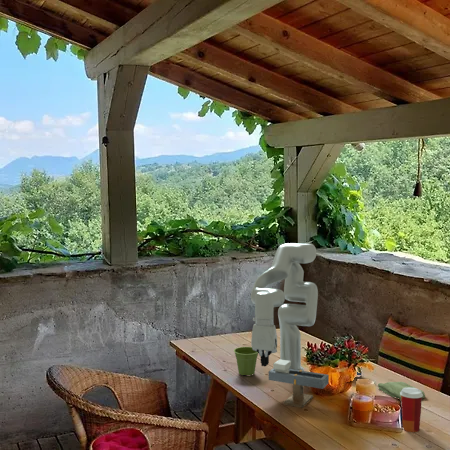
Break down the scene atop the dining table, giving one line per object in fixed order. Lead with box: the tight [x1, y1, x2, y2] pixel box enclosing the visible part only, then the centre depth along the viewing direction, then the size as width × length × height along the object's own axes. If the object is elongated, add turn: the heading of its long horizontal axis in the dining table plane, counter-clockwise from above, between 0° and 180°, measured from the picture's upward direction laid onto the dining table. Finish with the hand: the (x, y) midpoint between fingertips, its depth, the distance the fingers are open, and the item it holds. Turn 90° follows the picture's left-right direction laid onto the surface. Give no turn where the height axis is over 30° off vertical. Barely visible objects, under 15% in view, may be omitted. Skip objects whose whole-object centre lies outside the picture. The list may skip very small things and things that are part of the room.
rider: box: [272, 358, 291, 373], centre depth 235 cm, size 5×6×5 cm
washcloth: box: [377, 381, 426, 400], centre depth 240 cm, size 13×18×3 cm
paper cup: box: [400, 387, 423, 433], centre depth 204 cm, size 8×8×14 cm
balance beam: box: [268, 367, 330, 409], centre depth 232 cm, size 23×12×12 cm, turn 62°
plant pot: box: [233, 346, 259, 376], centre depth 266 cm, size 12×12×11 cm
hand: (264, 365), depth 239 cm, fingers closed
